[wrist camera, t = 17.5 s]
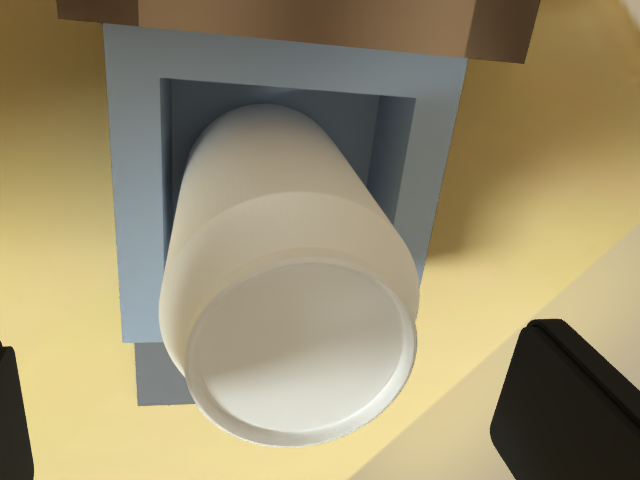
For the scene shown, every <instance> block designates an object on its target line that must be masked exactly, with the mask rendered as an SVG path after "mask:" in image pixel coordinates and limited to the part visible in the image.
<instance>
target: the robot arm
mask: <svg viewBox="0 0 640 480" xmlns="http://www.w3.org/2000/svg"><path fill="white" fill-rule="evenodd" d="M490 436H491V439H492V442H493V444H494V446H495V448H496V449H497V451H498V453H499V454H500V456H501V457H502V459H503V460H504V462H505V463H506V465H507V466H508V468H509V470H510V471H511V473H512V474H513V476H514V478H515V479H516V480H640V391H639V390H638V389H637V388H636V387H635V386H634V385H633V384H632V383H631V382H630V381H628V380H627V379H626V378H625V377H624V376H623V375H622V374H621V373H620V372H619V371H618V370H617V369H616V368H614V367H613V366H612V365H611V364H610V363H609V362H608V361H607V360H606V359H605V358H604V357H603V356H602V355H600V354H599V353H598V352H597V351H596V350H595V349H594V348H593V347H592V346H591V345H590V344H589V343H587V341H585V340H584V339H583V338H582V337H581V336H580V335H579V334H578V333H577V332H576V331H575V330H574V329H572V328H571V327H570V326H569V325H568V324H567V323H566V322H565V321H563V320H562V319H535V320H532V321H530V322H529V323H528V324H527V327H525V328H523V329H522V330H521V332H520V335H519V337H518V341H517V344H516V347H515V350H514V353H513V356H512V359H511V362H510V366H509V369H508V372H507V375H506V378H505V382H504V384H503V388H502V391H501V394H500V397H499V400H498V403H497V406H496V409H495V413H494V416H493V419H492V422H491V426H490ZM33 477H34V464H33V458H32V452H31V446H30V440H29V434H28V428H27V422H26V416H25V410H24V404H23V398H22V393H21V387H20V381H19V375H18V369H17V363H16V357H15V352H14V349H13V348H12V347H11V346H8V347H2V343H1V341H0V480H33Z"/></svg>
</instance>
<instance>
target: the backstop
mask: <svg viewBox="0 0 640 480" xmlns="http://www.w3.org/2000/svg"><path fill="white" fill-rule="evenodd" d="M56 1H57V11H58V19H67V20H77V21H87V22H98V23H108V24H118V25H129V26H139V27H149V28H160V29H170V30H180V31H191V32H201V33H211V34H222V35H232V36H242V37H253V38H263V39H273V40H283V41H294V42H304V43H314V44H325V45H335V46H345V47H356V48H366V49H376V50H387V51H397V52H407V53H418V54H428V55H438V56H449V57H459V58H469V59H480V60H490V61H500V62H511V63H521V64H524V63H525V59H526V55H527V51H528V47H529V43H530V39H531V35H532V31H533V28H534V24H535V20H536V16H537V12H538V8H539V4H540V0H56Z"/></svg>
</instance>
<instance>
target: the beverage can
mask: <svg viewBox="0 0 640 480" xmlns="http://www.w3.org/2000/svg"><path fill="white" fill-rule="evenodd" d="M419 296H420V291H419V279H418V274H417V270H416V266H415V263H414V260H413V258H412V256H411V253H410V251H409V249H408V248H407V246H406V244H405V242H404V241H403V239H402V238H401V236H400V235H399V234H398V232H397V231H396V229H395V228H394V226H393V225H392V224H391V222H390V221H389V219H388V218H387V217H386V215H385V214H384V212H383V211H382V209H381V208H380V207H379V205H378V204H377V202H376V201H375V200H374V198H373V197H372V195H371V194H370V192H369V191H368V190H367V188H366V187H365V185H364V184H363V183H362V181H361V180H360V178H359V177H358V175H357V174H356V173H355V171H354V170H353V168H352V167H351V166H350V164H349V163H348V161H347V160H346V159H345V157H344V156H343V154H342V153H341V152H340V150H339V149H338V147H337V146H336V145H335V143H334V142H333V141H332V139H331V138H330V137H329V135H328V134H327V133H326V132H325V131H324V130H323V129H322V128H321V127H320V126H319V125H318V124H317V123H316V122H315V121H314V120H312V119H311V118H309V117H308V116H306V115H305V114H303V113H301V112H299V111H297V110H294V109H292V108H289V107H285V106H281V105H276V104H251V105H246V106H242V107H239V108H236V109H233V110H231V111H229V112H227V113H225V114H223V115H221V116H220V117H218V118H217V119H215V120H214V121H213V122H212V123H210V124H209V125H208V126H207V127H206V128H205V129H204V130H203V132H202V133H201V134H200V135H199V137H198V138H197V139H196V141H195V143H194V144H193V146H192V148H191V150H190V153H189V155H188V158H187V161H186V165H185V169H184V174H183V178H182V183H181V188H180V193H179V198H178V203H177V208H176V214H175V219H174V224H173V229H172V234H171V239H170V245H169V250H168V255H167V260H166V266H165V271H164V276H163V281H162V287H161V292H160V299H159V325H160V331H161V335H162V339H163V342H164V345H165V347H166V350H167V352H168V354H169V356H170V358H171V359H172V361H173V363H174V364H175V366H176V367H177V368H178V370H179V371H180V372H181V374H182V375H183V376H184V377H185V378H186V383H187V386H188V389H189V392H190V394H191V396H192V398H193V400H194V402H195V403H196V405H197V406H198V408H199V409H200V410H201V412H202V413H203V414H204V415H205V416H206V417H207V418H208V419H209V420H210V421H211V422H212V423H213V424H215V425H216V426H217V427H219V428H220V429H222V430H223V431H225V432H227V433H228V434H230V435H232V436H234V437H237V438H239V439H241V440H244V441H247V442H250V443H254V444H258V445H263V446H270V447H282V448H292V447H305V446H311V445H317V444H321V443H325V442H329V441H332V440H335V439H338V438H340V437H343V436H345V435H348V434H350V433H352V432H354V431H356V430H358V429H359V428H361V427H363V426H364V425H366V424H367V423H369V422H370V421H372V420H373V419H375V418H376V417H377V416H378V415H380V414H381V413H382V412H383V411H384V410H385V409H386V408H387V407H388V406H389V405H390V404H391V403H392V402H393V401H394V400H395V398H396V397H397V396H398V394H399V393H400V392H401V390H402V389H403V387H404V385H405V384H406V382H407V380H408V378H409V376H410V374H411V371H412V368H413V365H414V362H415V358H416V352H417V331H416V325H415V322H416V318H417V313H418V308H419Z"/></svg>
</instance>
